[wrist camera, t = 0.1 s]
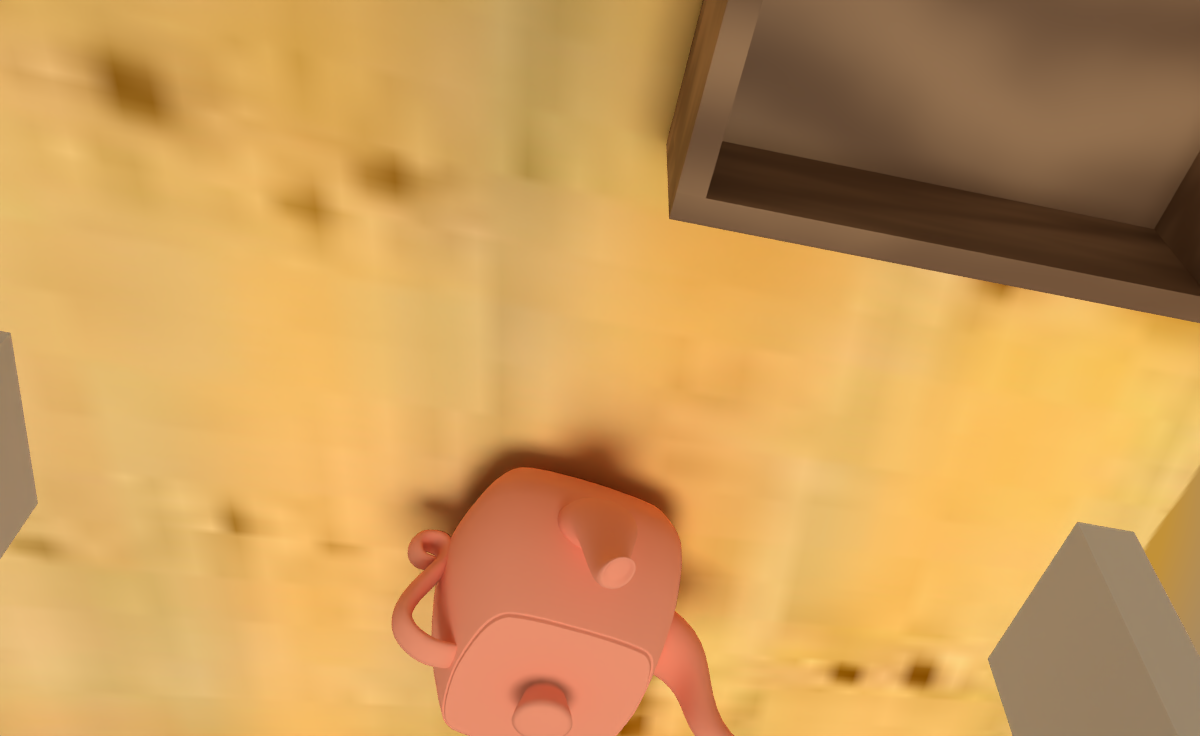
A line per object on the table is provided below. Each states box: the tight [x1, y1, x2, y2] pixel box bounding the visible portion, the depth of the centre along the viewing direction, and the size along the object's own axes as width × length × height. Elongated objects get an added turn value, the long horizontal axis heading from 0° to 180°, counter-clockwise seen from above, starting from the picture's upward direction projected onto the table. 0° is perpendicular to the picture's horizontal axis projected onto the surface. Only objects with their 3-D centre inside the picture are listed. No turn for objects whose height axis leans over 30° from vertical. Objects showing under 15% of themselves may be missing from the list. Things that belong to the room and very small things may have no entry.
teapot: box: [392, 467, 734, 736], centre depth 48 cm, size 14×14×11 cm
